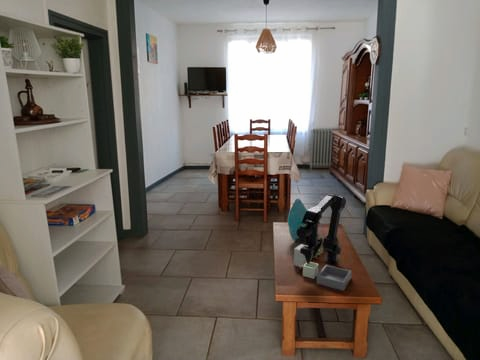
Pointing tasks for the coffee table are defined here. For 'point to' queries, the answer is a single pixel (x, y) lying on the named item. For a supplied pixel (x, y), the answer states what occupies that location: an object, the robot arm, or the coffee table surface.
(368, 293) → the coffee table surface
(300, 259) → the small box
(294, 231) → the teal pointed ovoid
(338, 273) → the grey crate
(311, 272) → the sage crate
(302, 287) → the coffee table surface
